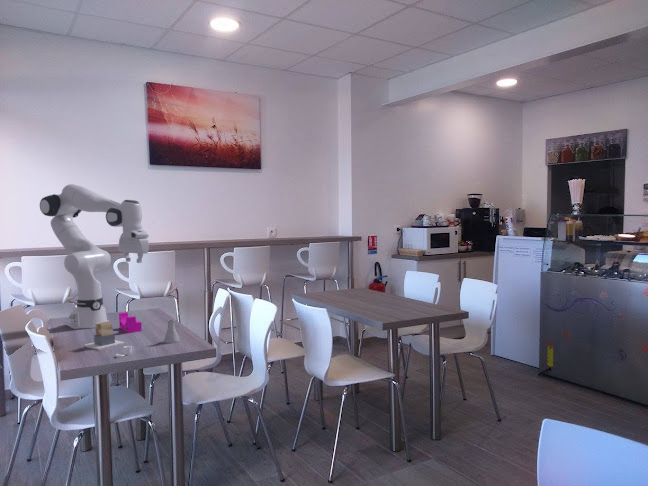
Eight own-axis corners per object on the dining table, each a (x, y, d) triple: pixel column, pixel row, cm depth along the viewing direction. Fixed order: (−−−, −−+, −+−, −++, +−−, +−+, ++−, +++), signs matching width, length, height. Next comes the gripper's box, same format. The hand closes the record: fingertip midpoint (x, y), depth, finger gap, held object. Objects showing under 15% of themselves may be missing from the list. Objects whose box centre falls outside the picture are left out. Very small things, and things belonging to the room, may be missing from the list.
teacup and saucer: (115, 360, 203) (114, 350, 203) (115, 355, 211) (115, 345, 211) (139, 358, 207) (138, 347, 206) (138, 352, 214) (137, 343, 214)
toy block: (141, 331, 252) (141, 316, 251) (128, 333, 248) (127, 317, 248) (132, 326, 264) (131, 311, 263) (119, 327, 260) (118, 313, 259)
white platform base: (84, 346, 224) (83, 335, 224) (110, 340, 234) (109, 329, 233) (99, 351, 217) (98, 339, 216) (125, 344, 226) (124, 333, 226)
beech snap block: (95, 334, 224) (95, 323, 224) (106, 332, 228) (106, 321, 228) (101, 336, 221) (101, 324, 221) (112, 334, 225) (112, 322, 225)
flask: (164, 345, 224) (164, 322, 223) (161, 341, 230) (160, 319, 230) (181, 343, 228) (181, 320, 227) (178, 339, 234) (177, 317, 233)
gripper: (114, 233, 253) (115, 261, 254) (138, 234, 241) (139, 264, 242) (126, 232, 258) (127, 260, 259) (150, 233, 246) (151, 262, 247)
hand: (133, 262), depth 250 cm, fingers open, 8 cm apart
